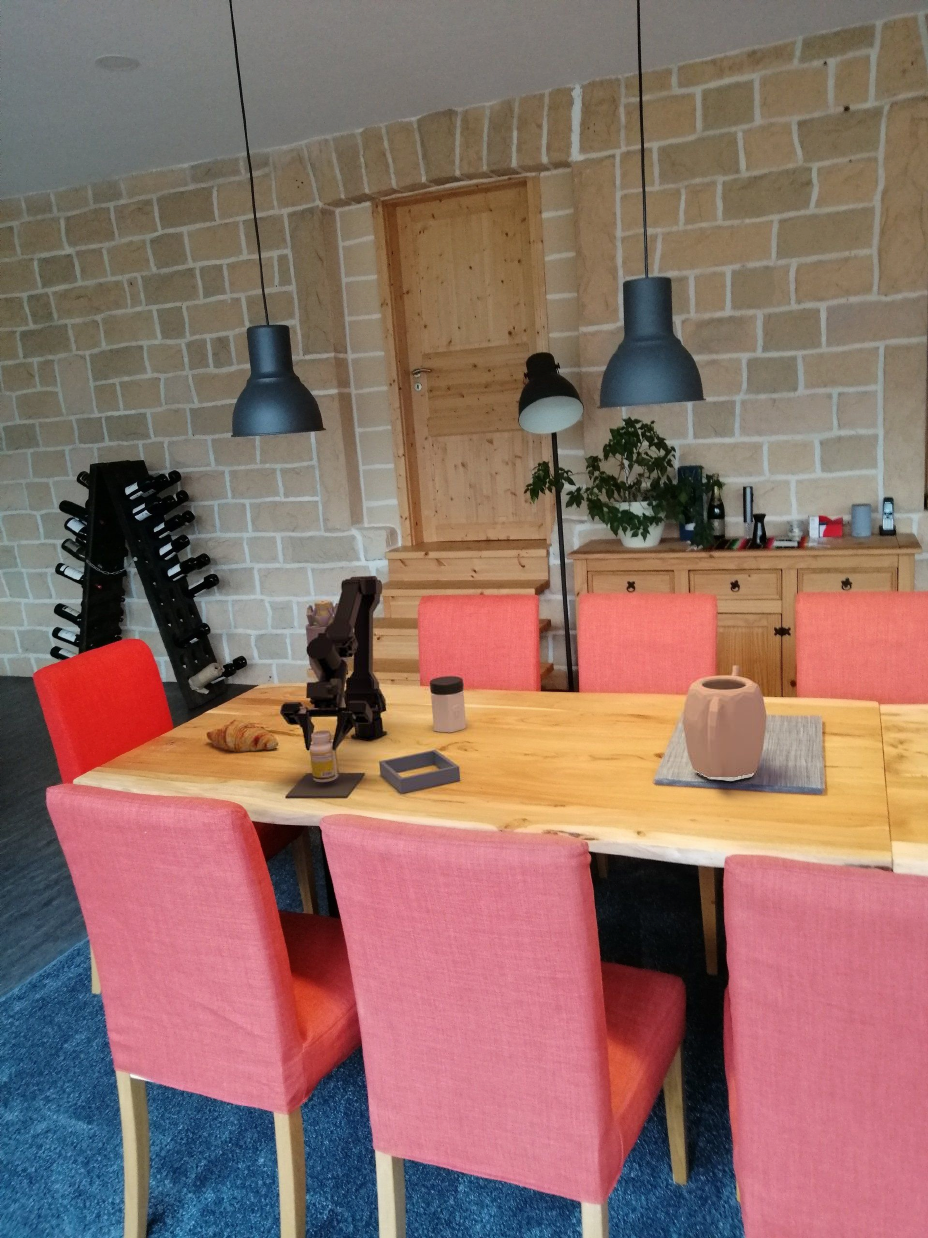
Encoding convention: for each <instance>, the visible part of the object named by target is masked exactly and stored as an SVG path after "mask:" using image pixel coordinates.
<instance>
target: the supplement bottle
mask: <svg viewBox="0 0 928 1238" xmlns="http://www.w3.org/2000/svg"><path fill="white" fill-rule="evenodd" d="M311 738H312V742H311V745H310V750H309V755H310V765H311V773H312V774H313V779H314V780H315V781H317V782H329V781H332V780H335V779H336V778H337V777H338V776H339V773H340V772H339V764H338V755H337V749H336V750H333V749H332V746H333V740H332V733H331V731H330V730H317V731H314V732H313V733H312V734H311Z"/></svg>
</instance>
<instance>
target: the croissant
mask: <svg viewBox="0 0 928 1238" xmlns="http://www.w3.org/2000/svg"><path fill="white" fill-rule="evenodd" d="M206 738H207V739H208V741H210V742H211V743H212V744H213V745H214V747H216V748H217V749H221V750H224V751H228V752H229V751H230V752H235V753H237V752H238V753H243V752H256V751H262V750H265V751H268V750H273V749H276V748H277V747H278V746H279V741H278V740H277V738H276V737H275V735H273V734H271V733H270V732H269V731H268V730H267V729H266V728H264V727H263V726H256V725H255V724H254V723H252V722H251V721H247V720H242V719H234V720H232V721H231V722H229V724H225V725H223V726H222V727H221V728H216V729H213V730H211V731H208V732H206Z"/></svg>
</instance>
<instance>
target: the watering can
mask: <svg viewBox="0 0 928 1238" xmlns="http://www.w3.org/2000/svg"><path fill="white" fill-rule="evenodd" d="M740 667H741V666H740V665H732V672H731V674H729V675H725V674H724V675H711V676H705V677H700V678H699V679H697V680H695V681H694V682H692V683H691V684H690V686H689V688H688V690H687V694H686V698H685V700H684V707H683V715H682V726H683V733H684V738H685V743H686V749H687V750H686V751H687V754H688V757H689V761H690V764H691V767H692V770H693V769H694V770H695V771H697V772H699V773H700V774H703V775H705V776H707V777H738V776H743V775H748V774H752V773H755V774H756V772H757V770H758V768H757V767H759V764H760V761H761V757H762V754H763V751H764V750H763V749H764V743H765V736H766V735H765V734H766V729H767V711H766V705H765V704H766V703H765V700H764V697H763V694H762V691H761V688H760V686H759V684H757V682H754V681H753V680H751V679H749V678H747V677H742V676H739V672H740V671H739V670H740ZM694 770H693V771H694Z"/></svg>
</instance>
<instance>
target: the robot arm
mask: <svg viewBox="0 0 928 1238" xmlns="http://www.w3.org/2000/svg"><path fill="white" fill-rule="evenodd" d="M340 589H341V591H340V595H339V599H338V602H337V603H338V606H337V610H336V613H335V617H334V620H333V623H331V624H330V625H329V626H327V627H326V628H325V630H324V633H318V637H317V638H315V639H313V640H312V641H311V642H310V643H309V644H308V645H307V646H306V650H305V651H306V654H307V655H308V659H309V658H310V659H311V661H312V662H313V664H314V666H315V667H316V669H317V670H318V671H320V676H319V681H318V680H316V681H314V682H313V681H311V682H310V681H309V682H306V689H305V690H306V693H305V698H306V699H310V700H309V703H310V705H313V707H307V706H303V704H302V702H301V701H286V702H285V701H284V703H282V704H281V706H280V710H279V714H280V715H281V716H282V718H283V719H284V721H285V722H286V723H287V725H290V726H299V727H300V728H301V729H302V734H303V735H302V737H303V741H304V747H305V750H306V751H308V752H310V745H311V744H312V743H313V742H312V738H311V734H312V733H314V732H315V724H314V723H313V722H312V718H332V717H333V718H335V717H336V726H335V731H334V735H333V740H332V741H333V746H332V749H333V750H336V751H337V749H338V748H339V746H340V745H341V743H342V742H343V741H344V739H345V738H346V736H347V735H348V734H349V733H350V732H351V731H352V730H353V728H354V732H355V733H353V734H351V735H350V738H352V739H359V740H362V741H367V742H369V741H372V740H375V739H378V738H380V737H382V736H384V735H387V734H388V731H386V730H384V726H383V724H384V723H383V718H382V713H384V712H387V703H386V702H387V701H386V697H385V696H384V694H383V692H382V690H381V688H380V682H379V680H378V679H377V677H376V675H375V674H374V671H373V669H374V667H373V666H374V664H373V663H374V662H373V659H374V612H375V611H376V609H377V607H378V606H379V604H380V601H381V595H382V593H383V582H382V581H381V580H380V579H378V577H377V576H376V575H364V576H361V575H359V576H351V577H350V578H345V579H343V580H342V581H341V584H340ZM341 658H353V667H352V668H353V671H352V673H351V674H350V676H349V677H347V676H348V675H349V669H348V667H349V665H348V662H347V663H346V662H345V661H344V660H343V659H341ZM344 690H345V692H344ZM343 698H344V701H345V705H346V707H342V700H343Z"/></svg>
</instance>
